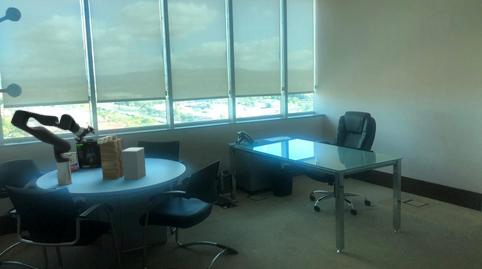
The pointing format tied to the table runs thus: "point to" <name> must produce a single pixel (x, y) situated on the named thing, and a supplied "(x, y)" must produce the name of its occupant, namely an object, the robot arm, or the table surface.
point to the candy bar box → (73, 161)
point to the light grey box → (133, 163)
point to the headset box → (88, 154)
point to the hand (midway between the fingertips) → (89, 137)
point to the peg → (106, 139)
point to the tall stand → (112, 159)
